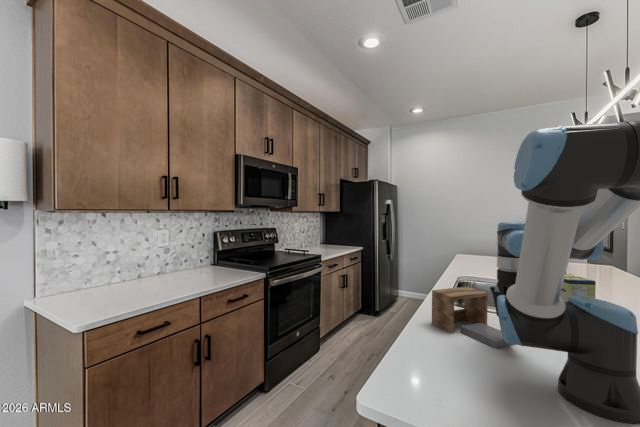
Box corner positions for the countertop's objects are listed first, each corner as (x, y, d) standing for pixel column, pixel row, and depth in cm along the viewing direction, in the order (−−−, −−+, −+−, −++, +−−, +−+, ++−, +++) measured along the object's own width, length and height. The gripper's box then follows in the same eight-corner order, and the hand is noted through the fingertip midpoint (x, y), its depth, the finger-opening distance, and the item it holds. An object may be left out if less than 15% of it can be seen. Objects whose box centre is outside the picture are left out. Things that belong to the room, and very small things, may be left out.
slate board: (517, 344, 99) (517, 337, 99) (496, 349, 95) (496, 341, 95) (480, 329, 112) (480, 322, 112) (460, 332, 108) (460, 325, 108)
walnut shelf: (487, 326, 114) (487, 292, 114) (451, 333, 107) (452, 297, 107) (465, 318, 123) (466, 286, 123) (431, 323, 116) (432, 290, 116)
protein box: (570, 306, 142) (571, 273, 142) (596, 317, 126) (596, 281, 126) (546, 304, 143) (547, 272, 143) (569, 315, 128) (569, 280, 128)
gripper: (539, 272, 92) (537, 348, 92) (500, 265, 104) (499, 332, 104) (522, 274, 89) (521, 352, 89) (484, 266, 101) (483, 335, 101)
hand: (509, 341), depth 97 cm, fingers closed
